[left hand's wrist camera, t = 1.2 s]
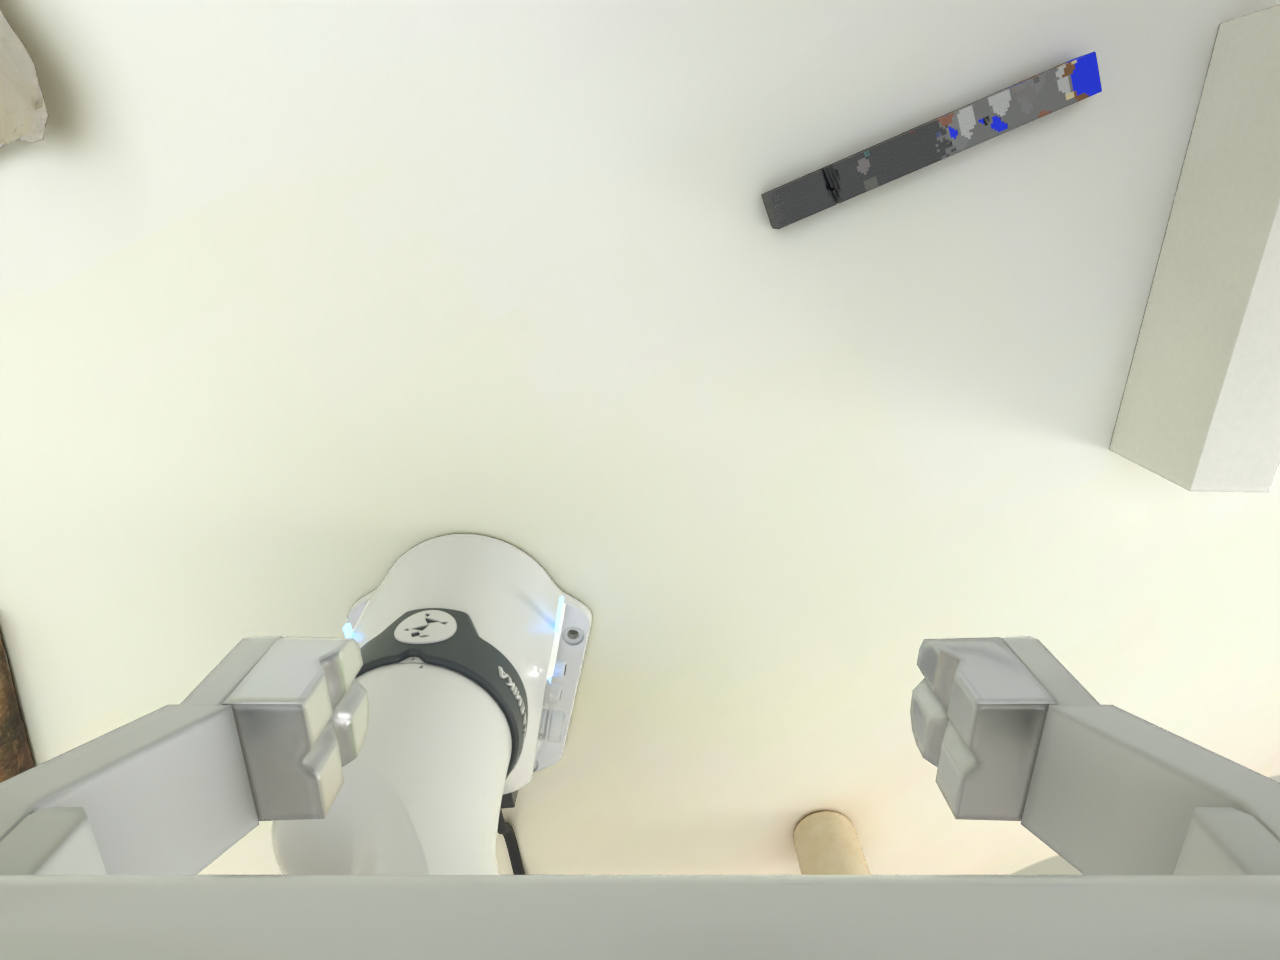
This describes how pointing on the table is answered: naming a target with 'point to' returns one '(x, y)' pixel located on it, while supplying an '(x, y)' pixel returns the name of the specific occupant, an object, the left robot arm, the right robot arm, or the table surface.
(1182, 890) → the left robot arm
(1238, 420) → the bar
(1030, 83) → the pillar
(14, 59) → the anatomical model
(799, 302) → the table surface
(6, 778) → the plaque
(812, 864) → the candle
